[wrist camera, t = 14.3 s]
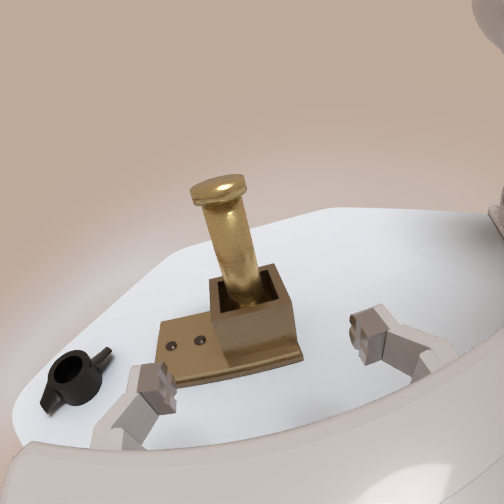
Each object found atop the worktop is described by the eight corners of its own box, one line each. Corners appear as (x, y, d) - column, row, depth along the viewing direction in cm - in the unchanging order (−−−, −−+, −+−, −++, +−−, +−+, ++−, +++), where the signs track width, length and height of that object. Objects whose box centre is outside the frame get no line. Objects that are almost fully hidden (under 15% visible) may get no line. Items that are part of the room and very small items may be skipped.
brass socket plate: (163, 328, 30) (144, 288, 28) (280, 301, 31) (272, 257, 28) (155, 391, 22) (126, 349, 20) (303, 360, 23) (297, 311, 20)
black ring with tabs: (122, 402, 22) (106, 383, 20) (47, 421, 19) (30, 405, 18) (118, 351, 28) (106, 333, 27) (53, 373, 26) (39, 356, 24)
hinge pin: (242, 313, 29) (203, 179, 22) (280, 313, 27) (250, 171, 21) (229, 341, 25) (179, 195, 19) (271, 344, 24) (233, 187, 18)
